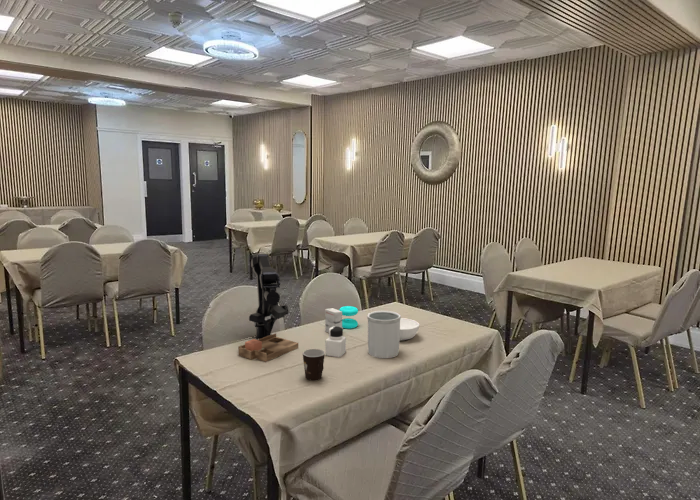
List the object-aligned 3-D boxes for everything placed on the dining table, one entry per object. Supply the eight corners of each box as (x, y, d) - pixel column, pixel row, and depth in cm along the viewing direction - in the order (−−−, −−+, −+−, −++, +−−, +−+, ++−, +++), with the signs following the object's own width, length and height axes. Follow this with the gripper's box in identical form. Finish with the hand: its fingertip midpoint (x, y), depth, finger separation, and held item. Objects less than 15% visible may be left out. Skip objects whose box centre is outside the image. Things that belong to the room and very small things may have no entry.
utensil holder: (361, 356, 203) (362, 317, 200) (372, 345, 216) (373, 308, 214) (394, 361, 198) (395, 321, 195) (402, 349, 211) (404, 312, 209)
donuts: (359, 306, 246) (356, 311, 236) (359, 324, 247) (355, 330, 238) (341, 304, 248) (337, 309, 238) (341, 322, 249) (336, 328, 240)
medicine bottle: (345, 352, 207) (346, 326, 205) (340, 357, 200) (340, 331, 199) (331, 349, 209) (331, 324, 208) (325, 355, 203) (325, 329, 201)
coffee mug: (302, 372, 184) (302, 348, 183) (324, 372, 185) (324, 348, 183) (302, 385, 173) (302, 360, 171) (325, 385, 173) (325, 359, 172)
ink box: (342, 334, 231) (343, 311, 229) (334, 335, 228) (335, 312, 226) (332, 329, 238) (332, 307, 236) (324, 331, 235) (324, 308, 233)
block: (245, 349, 201) (245, 342, 200) (253, 346, 205) (253, 338, 204) (253, 352, 198) (253, 344, 198) (261, 349, 202) (261, 341, 202)
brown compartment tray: (238, 355, 201) (238, 346, 200) (275, 341, 219) (275, 333, 219) (262, 363, 193) (262, 354, 192) (298, 348, 211) (298, 339, 210)
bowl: (376, 340, 223) (377, 326, 222) (388, 329, 240) (388, 316, 239) (413, 346, 216) (414, 331, 215) (422, 334, 233) (423, 320, 232)
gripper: (265, 306, 192) (266, 342, 194) (297, 297, 206) (297, 331, 209) (248, 301, 198) (248, 336, 201) (279, 293, 213) (279, 326, 215)
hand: (269, 332), depth 206 cm, fingers closed
